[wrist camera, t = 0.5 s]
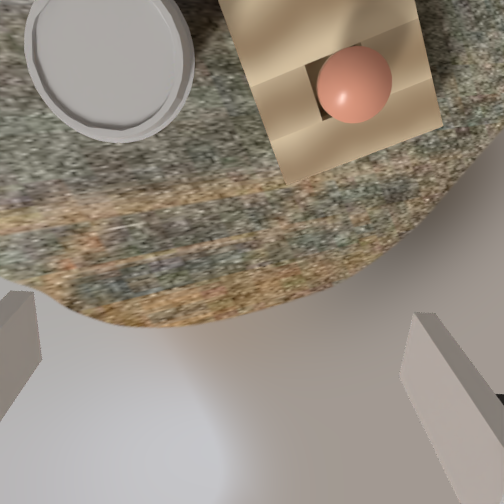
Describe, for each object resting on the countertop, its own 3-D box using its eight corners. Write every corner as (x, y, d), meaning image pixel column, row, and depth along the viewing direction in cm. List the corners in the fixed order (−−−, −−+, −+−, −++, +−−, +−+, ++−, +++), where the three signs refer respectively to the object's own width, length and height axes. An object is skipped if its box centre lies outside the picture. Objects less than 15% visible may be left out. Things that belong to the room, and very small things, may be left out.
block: (172, -125, 32) (160, -157, 27) (339, -206, 31) (356, -254, 26) (281, 171, 40) (286, 185, 35) (419, 118, 38) (443, 126, 34)
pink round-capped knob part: (300, 63, 32) (309, 63, 28) (361, 37, 32) (381, 33, 27) (320, 124, 34) (331, 134, 29) (379, 101, 33) (400, 107, 29)
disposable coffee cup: (188, -27, 34) (159, -69, 23) (222, 105, 38) (212, 123, 27) (66, 9, 35) (-17, -16, 24) (111, 134, 39) (57, 164, 27)
